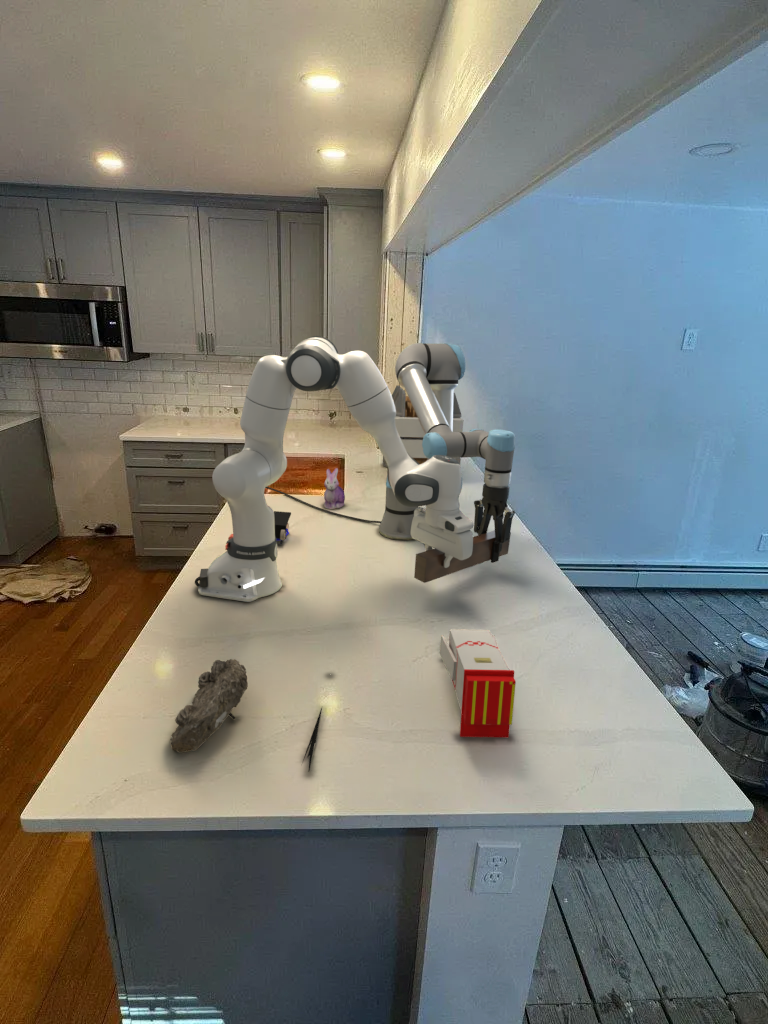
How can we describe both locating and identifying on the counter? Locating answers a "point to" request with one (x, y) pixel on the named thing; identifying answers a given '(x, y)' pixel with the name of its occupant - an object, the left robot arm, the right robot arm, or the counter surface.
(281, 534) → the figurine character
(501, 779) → the counter surface
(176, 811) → the counter surface
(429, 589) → the counter surface
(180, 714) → the fossil
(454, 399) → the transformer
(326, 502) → the figurine
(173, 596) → the counter surface
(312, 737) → the feather
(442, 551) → the left robot arm
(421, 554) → the walnut rail
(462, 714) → the toy
